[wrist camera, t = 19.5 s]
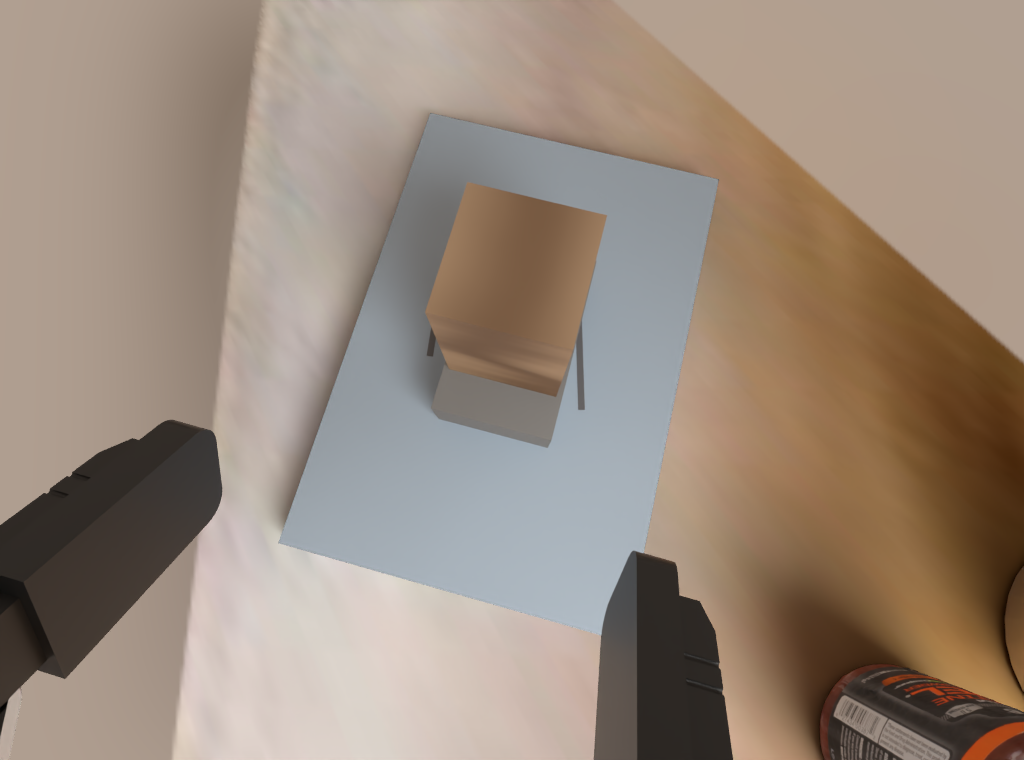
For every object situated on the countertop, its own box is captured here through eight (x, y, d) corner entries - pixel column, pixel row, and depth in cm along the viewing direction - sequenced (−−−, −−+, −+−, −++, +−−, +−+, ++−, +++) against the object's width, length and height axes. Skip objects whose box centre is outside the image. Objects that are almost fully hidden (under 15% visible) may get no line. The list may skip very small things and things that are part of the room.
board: (708, 196, 29) (718, 179, 28) (618, 634, 24) (625, 642, 23) (434, 132, 30) (430, 112, 29) (292, 541, 25) (278, 543, 24)
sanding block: (588, 284, 26) (627, 169, 18) (547, 447, 24) (567, 409, 16) (487, 259, 27) (475, 133, 18) (438, 419, 25) (398, 365, 16)
